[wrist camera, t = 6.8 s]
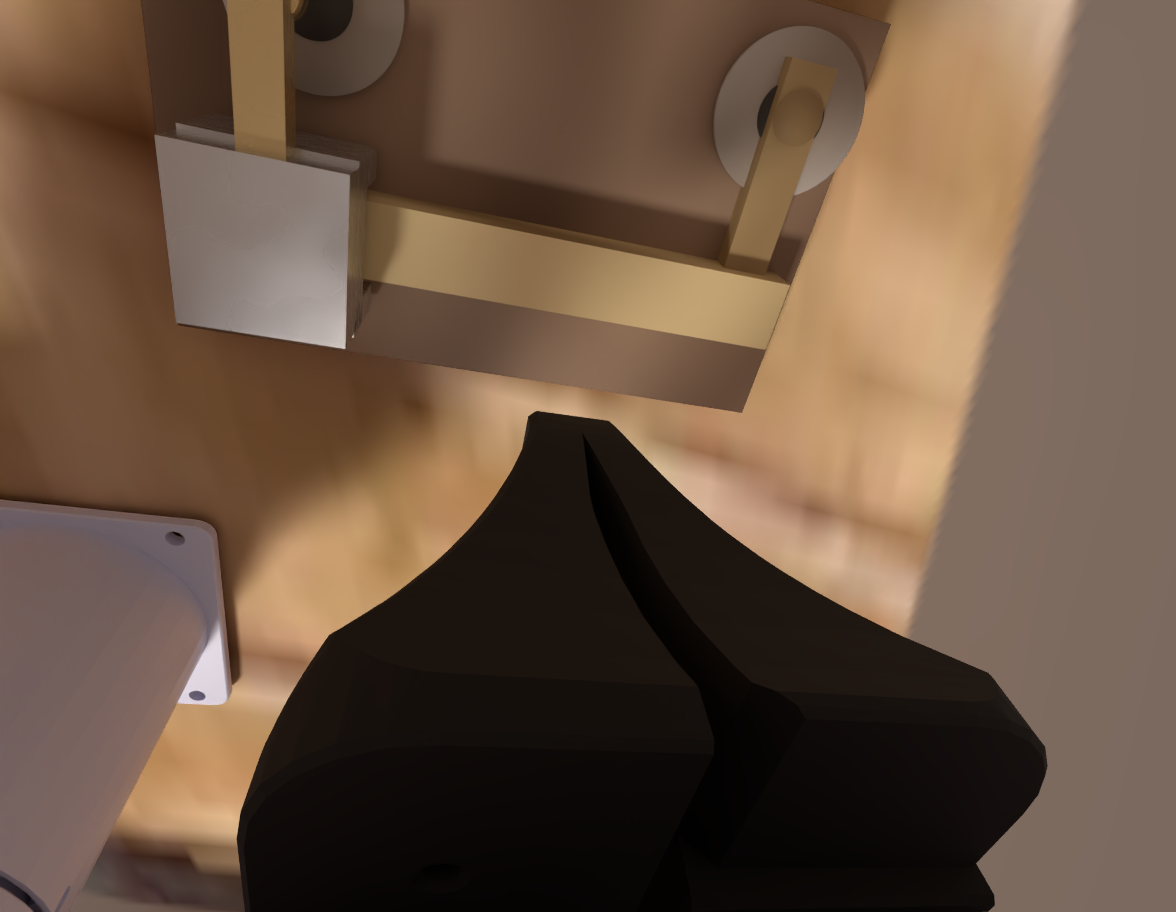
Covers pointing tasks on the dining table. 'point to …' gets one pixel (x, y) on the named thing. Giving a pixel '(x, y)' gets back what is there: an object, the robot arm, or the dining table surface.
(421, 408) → the dining table surface
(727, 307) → the wooden mechanism board
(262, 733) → the dining table surface
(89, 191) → the dining table surface
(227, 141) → the sliding leg
